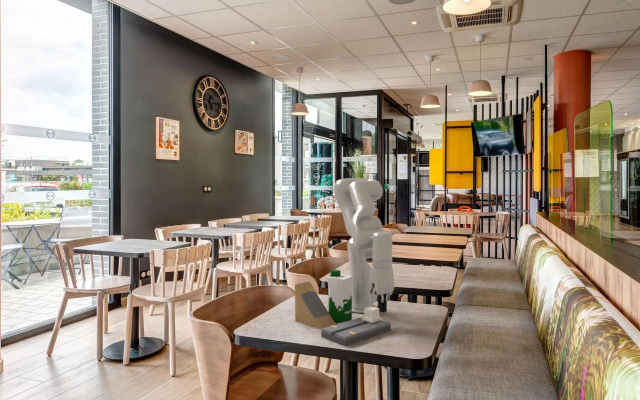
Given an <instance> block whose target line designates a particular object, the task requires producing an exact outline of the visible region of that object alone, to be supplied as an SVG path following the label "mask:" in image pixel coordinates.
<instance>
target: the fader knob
mask: <svg viewBox="0 0 640 400" xmlns="http://www.w3.org/2000/svg"><path fill="white" fill-rule="evenodd" d="M363 316H364V317H363ZM363 316H361V317H362V320H364V321H367V322H368V323H374V322H377V321H380V320H382V317H380V312H379V308H378V307H376V306H375V307H372V306H370V307H367V308H364V313H363Z"/></svg>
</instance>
